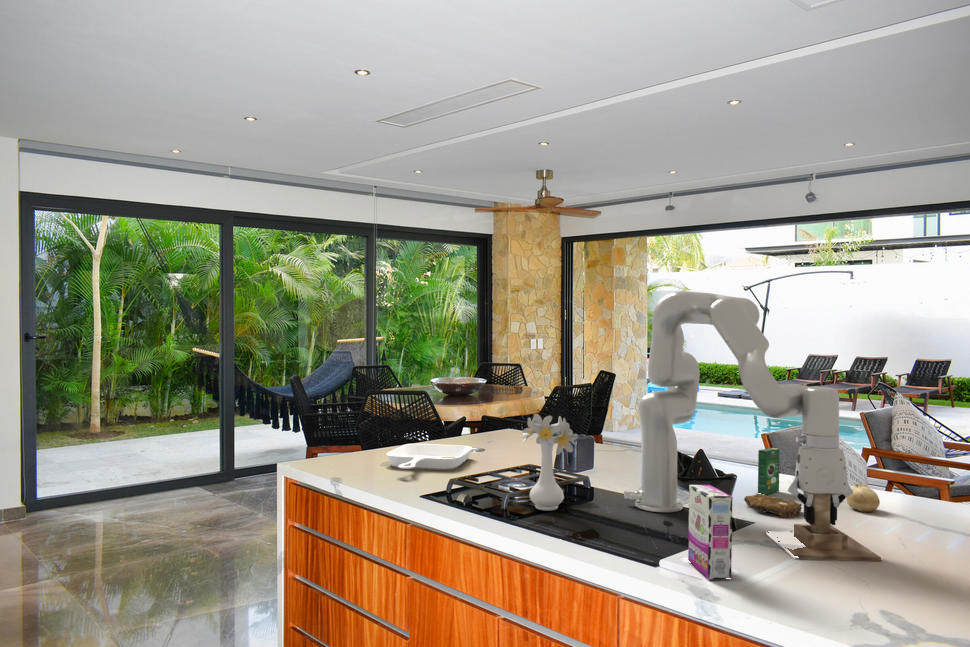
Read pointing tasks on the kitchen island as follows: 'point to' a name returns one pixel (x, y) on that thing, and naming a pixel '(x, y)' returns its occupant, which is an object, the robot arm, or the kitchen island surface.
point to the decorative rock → (774, 505)
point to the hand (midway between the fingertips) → (820, 522)
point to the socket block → (829, 546)
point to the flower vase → (548, 458)
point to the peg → (821, 514)
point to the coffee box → (768, 471)
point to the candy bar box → (710, 531)
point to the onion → (863, 499)
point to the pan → (428, 456)
